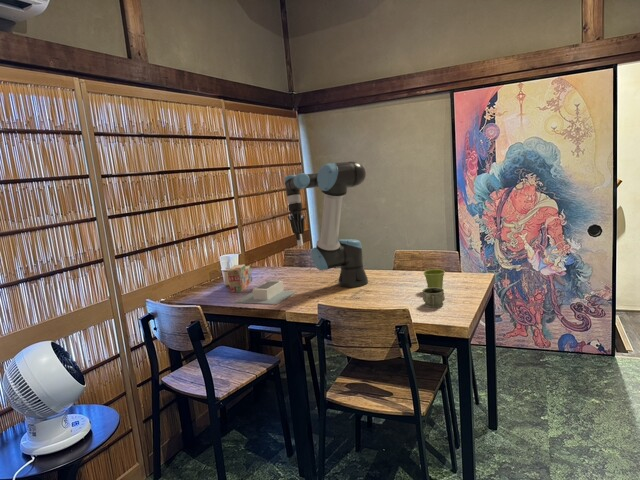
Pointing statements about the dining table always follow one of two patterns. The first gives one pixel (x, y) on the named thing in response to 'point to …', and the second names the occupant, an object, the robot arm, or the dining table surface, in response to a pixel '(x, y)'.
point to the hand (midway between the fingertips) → (300, 246)
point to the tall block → (268, 290)
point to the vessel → (433, 297)
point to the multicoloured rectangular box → (239, 277)
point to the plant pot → (434, 278)
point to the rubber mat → (273, 300)
